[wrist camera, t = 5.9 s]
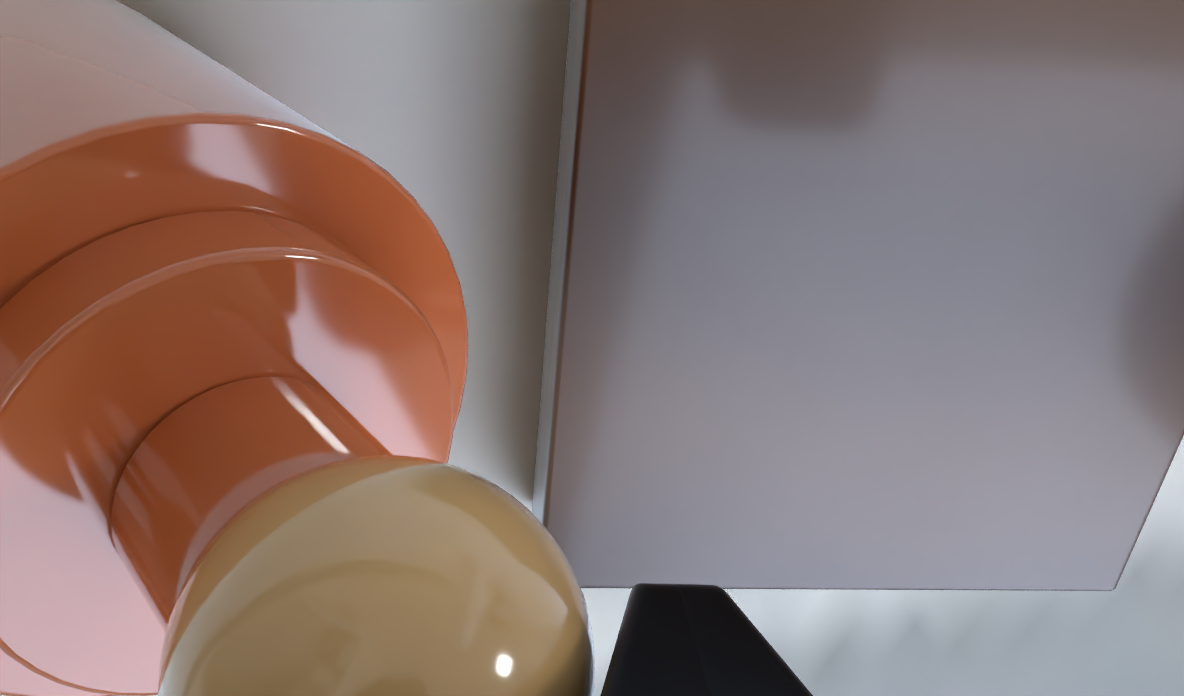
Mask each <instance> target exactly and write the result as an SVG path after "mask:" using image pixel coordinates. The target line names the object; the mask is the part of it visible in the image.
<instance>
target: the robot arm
mask: <svg viewBox="0 0 1184 696" xmlns="http://www.w3.org/2000/svg"><path fill="white" fill-rule="evenodd" d="M601 696H813V695H812V694H811V693H810V692H809V690H808V689H807V688H806V687H805V686H804V684H803V683H802V682H801V681H800V680H799V679H798V677H797V676H796V675H795V674H794V673H793V671H792V670H791V669H790V668H789V667H788V665H787V664H786V663H785V662H784V661H783V659H782V658H781V657H780V656H779V655H778V654H777V652H776V651H775V650H774V649H773V648H772V646H771V645H770V644H769V643H768V642H767V640H766V639H765V638H764V637H763V636H762V634H761V633H760V632H759V631H758V630H757V629H756V627H755V626H754V625H753V624H752V623H751V621H750V620H749V619H748V618H747V617H746V615H745V614H744V613H743V612H742V611H741V609H740V608H739V607H738V606H737V605H736V603H735V602H734V601H733V600H732V599H731V598H730V596H729V595H728V594H727V593H726V592H725V591H724V590H723V589H721V588H720V587H718V586H716V585H702V584H656V583H639V584H637V585H635V586H634V587H633V588H632V591H631V593H630V596H629V600H628V603H627V607H626V610H625V613H624V617H623V620H622V624H621V627H620V631H619V634H618V638H617V641H616V645H615V648H614V652H613V655H612V658H611V662H610V665H609V669H608V672H607V676H606V679H605V683H604V686H603V690H602V693H601Z"/></svg>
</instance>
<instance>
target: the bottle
mask: <svg viewBox="0 0 1184 696" xmlns="http://www.w3.org/2000/svg"><path fill="white" fill-rule="evenodd" d="M467 356H468V334H467V319H466V311H465V306H464V301H463V296H462V291H461V286H460V282H459V279H458V276H457V274H456V271H455V268H454V265H453V263H452V260H451V257H450V254H449V251H448V249H447V248H446V246H445V244H444V242H443V240H442V238H441V236H440V235H439V233H438V231H437V229H436V227H435V225H434V223H433V222H432V221H431V219H430V218H429V217H428V215H427V214H426V213H425V211H424V210H423V209H422V207H421V206H420V205H419V203H418V202H417V201H416V199H415V198H414V197H413V196H412V195H411V194H410V193H409V192H408V191H407V190H406V189H405V188H404V187H403V186H402V185H401V184H400V183H399V182H398V181H397V180H396V179H395V178H394V177H393V176H392V175H391V174H390V173H389V172H387V171H386V170H384V169H383V168H382V167H380V166H379V165H377V164H376V163H374V162H373V161H372V160H370V159H369V158H367V157H366V156H365V155H363V154H362V153H360V152H359V151H357V150H356V149H354V148H353V147H351V146H349V145H348V144H346V143H345V142H343V141H342V140H340V139H338V138H337V137H335V136H334V135H332V134H330V133H329V132H327V131H326V130H324V129H323V128H321V127H319V126H318V125H316V124H315V123H313V122H311V121H310V120H308V119H307V118H305V117H304V116H302V115H300V114H299V113H297V112H296V111H294V110H293V109H291V108H289V107H288V106H286V105H285V104H283V103H281V102H280V101H278V100H277V99H275V98H274V97H272V96H270V95H269V94H267V93H266V92H264V91H262V90H261V89H259V88H258V87H256V86H255V85H253V84H251V83H250V82H248V81H247V80H245V79H244V78H242V77H240V76H239V75H237V74H236V73H234V72H232V71H231V70H229V69H228V68H226V67H225V66H223V65H221V64H220V63H218V62H217V61H215V60H214V59H212V58H210V57H209V56H207V55H206V54H204V53H202V52H201V51H199V50H198V49H196V48H195V47H193V46H191V45H190V44H188V43H187V42H185V41H183V40H182V39H180V38H179V37H177V36H176V35H174V34H172V33H171V32H169V31H168V30H166V29H165V28H163V27H161V26H160V25H158V24H157V23H155V22H153V21H152V20H150V19H149V18H147V17H146V16H144V15H142V14H141V13H139V12H137V11H135V10H134V9H132V8H130V7H128V6H126V5H124V4H122V3H120V2H118V1H116V0H0V695H6V696H152V695H158V696H593V690H594V643H593V636H592V629H591V624H590V619H589V613H588V610H587V606H586V603H585V599H584V596H583V593H582V591H581V588H580V586H579V583H578V581H577V579H576V576H575V574H574V572H573V570H572V567H571V565H570V564H569V562H568V560H567V558H566V556H565V555H564V553H563V551H562V549H561V548H560V547H559V545H558V544H557V542H556V541H555V539H554V538H553V536H552V535H551V534H550V533H549V531H548V530H547V529H546V528H545V527H544V525H543V524H542V523H541V522H540V521H539V520H538V519H537V518H536V517H535V516H534V515H533V514H532V513H531V512H530V511H529V510H528V509H527V508H526V507H525V506H524V505H523V504H521V503H520V502H519V501H518V500H517V499H515V498H514V497H513V496H512V495H510V494H509V493H507V492H506V491H504V490H503V489H502V488H500V487H499V486H497V485H496V484H494V483H492V482H490V481H488V480H486V479H485V478H483V477H481V476H479V475H476V474H474V473H472V472H469V471H467V470H465V469H462V468H459V467H456V466H454V465H450V464H447V462H448V459H449V453H450V448H451V443H452V437H453V430H454V427H455V424H456V421H457V417H458V414H459V411H460V407H461V402H462V396H463V391H464V386H465V380H466V372H467Z"/></svg>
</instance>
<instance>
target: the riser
mask: <svg viewBox="0 0 1184 696" xmlns="http://www.w3.org/2000/svg"><path fill="white" fill-rule="evenodd" d="M1183 435H1184V0H571V7H570V20H569V33H568V46H567V59H566V72H565V85H564V98H563V111H562V124H561V137H560V150H559V163H558V177H557V190H556V203H555V216H554V229H553V242H552V255H551V268H550V281H549V294H548V307H547V320H546V333H545V346H544V359H543V372H542V386H541V399H540V412H539V425H538V438H537V451H536V464H535V477H534V490H533V503H532V510H533V515H534V516H535V517H536V518H537V519H538V520H539V521H540V522H541V523H542V524H543V525H544V527H545V528H546V529H547V530H548V531H549V533H550V534H551V535H552V536H553V538H554V539H555V541H556V542H557V544H558V545H559V547H560V548H561V549H562V551H563V553H564V555H565V556H566V558H567V560H568V562H569V564H570V565H571V567H572V570H573V572H574V574H575V576H576V579H577V581H578V583H579V586H580V588H633V587H634V586H635V585H637V584H639V583H656V584H702V585H716V586H718V587H720V588H721V589H880V590H1064V591H1111V590H1114V589H1115V588H1116V586H1117V583H1118V581H1119V579H1120V577H1121V575H1122V572H1123V570H1124V568H1125V566H1126V563H1127V561H1128V559H1129V557H1130V554H1131V552H1132V550H1133V548H1134V545H1135V543H1136V541H1137V539H1138V536H1139V534H1140V532H1141V530H1142V527H1143V525H1144V523H1145V521H1146V518H1147V516H1148V514H1149V512H1150V509H1151V507H1152V505H1153V503H1154V500H1155V498H1156V496H1157V494H1158V491H1159V489H1160V487H1161V485H1162V482H1163V480H1164V478H1165V476H1166V473H1167V471H1168V469H1169V467H1170V465H1171V462H1172V460H1173V458H1174V456H1175V453H1176V451H1177V449H1178V447H1179V444H1180V442H1181V440H1182V438H1183Z"/></svg>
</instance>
